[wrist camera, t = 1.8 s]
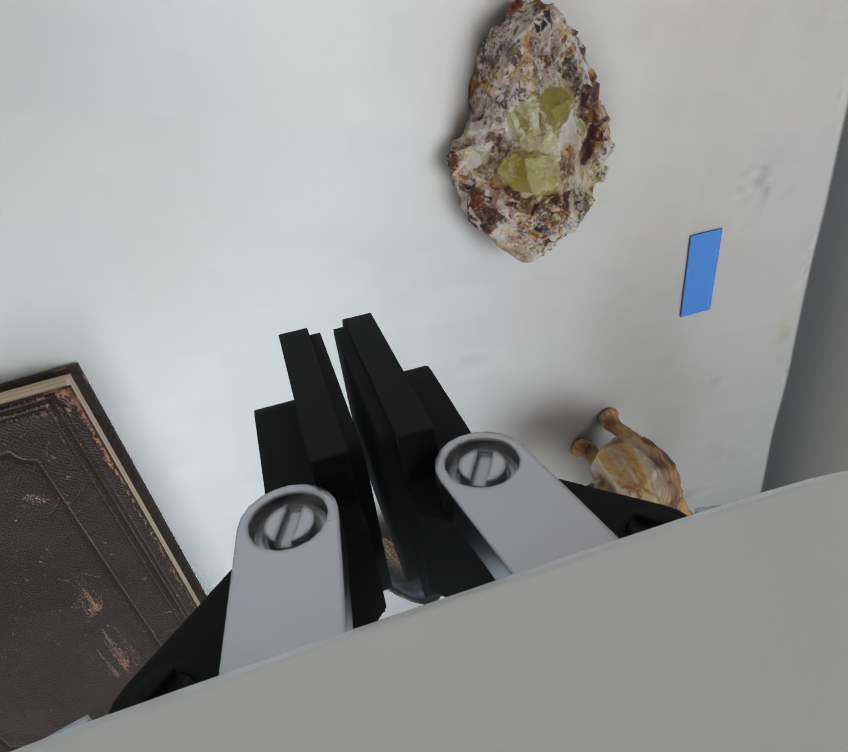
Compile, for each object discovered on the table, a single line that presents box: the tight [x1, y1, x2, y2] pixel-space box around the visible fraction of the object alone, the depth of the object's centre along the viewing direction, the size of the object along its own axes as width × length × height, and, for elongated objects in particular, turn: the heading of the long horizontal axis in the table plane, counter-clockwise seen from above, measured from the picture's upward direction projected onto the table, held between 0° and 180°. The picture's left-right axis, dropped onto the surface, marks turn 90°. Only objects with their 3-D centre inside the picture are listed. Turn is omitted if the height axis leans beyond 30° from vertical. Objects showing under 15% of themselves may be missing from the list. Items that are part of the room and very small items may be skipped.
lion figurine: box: [571, 408, 693, 516], centre depth 37 cm, size 15×5×9 cm, turn 45°
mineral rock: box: [446, 0, 615, 263], centre depth 27 cm, size 11×4×8 cm
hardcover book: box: [0, 363, 207, 752], centre depth 31 cm, size 16×23×2 cm
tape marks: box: [680, 228, 722, 317], centre depth 30 cm, size 24×2×1 cm, turn 7°
